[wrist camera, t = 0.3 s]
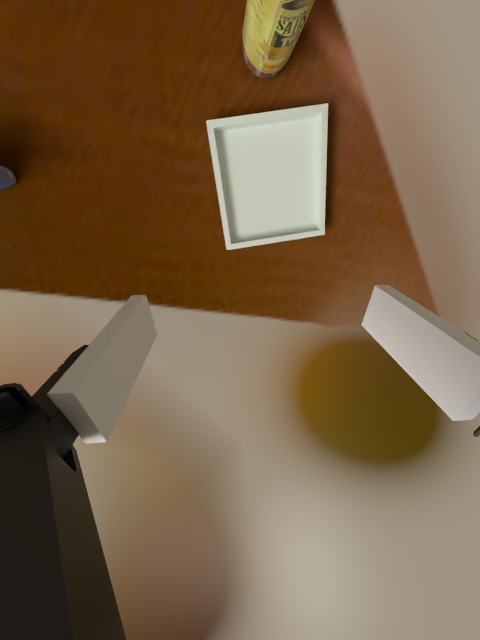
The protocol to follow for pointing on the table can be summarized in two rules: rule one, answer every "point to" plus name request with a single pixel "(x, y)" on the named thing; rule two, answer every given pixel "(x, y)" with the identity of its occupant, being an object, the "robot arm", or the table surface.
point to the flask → (6, 178)
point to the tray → (271, 174)
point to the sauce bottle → (272, 33)
